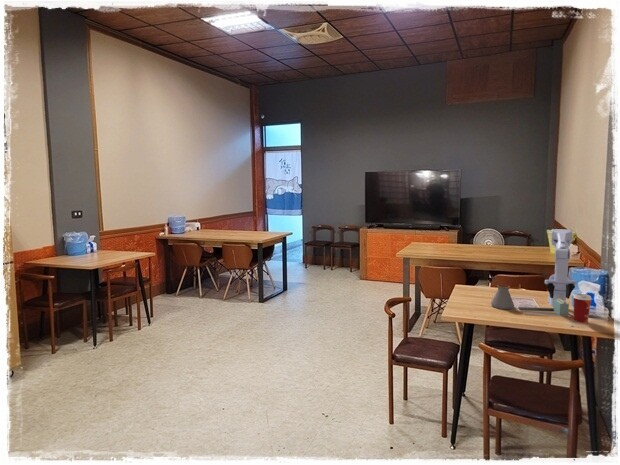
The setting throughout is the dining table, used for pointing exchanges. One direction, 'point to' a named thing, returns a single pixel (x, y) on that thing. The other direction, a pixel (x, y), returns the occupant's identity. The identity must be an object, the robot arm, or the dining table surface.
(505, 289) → the coffee pot
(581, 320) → the paper cup
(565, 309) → the teal and beige block
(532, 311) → the board
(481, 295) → the dining table surface
